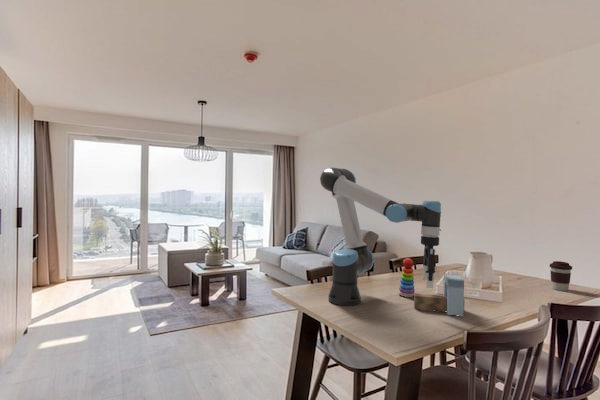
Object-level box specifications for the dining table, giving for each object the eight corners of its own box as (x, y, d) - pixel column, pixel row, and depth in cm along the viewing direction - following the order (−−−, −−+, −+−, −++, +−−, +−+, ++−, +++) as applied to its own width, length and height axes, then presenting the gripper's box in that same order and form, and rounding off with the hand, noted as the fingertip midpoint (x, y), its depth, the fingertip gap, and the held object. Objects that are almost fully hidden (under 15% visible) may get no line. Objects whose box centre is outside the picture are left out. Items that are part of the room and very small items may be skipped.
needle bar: (414, 309, 150) (415, 295, 150) (414, 306, 154) (414, 293, 154) (464, 314, 146) (464, 300, 146) (462, 311, 149) (462, 297, 149)
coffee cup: (576, 292, 183) (577, 264, 183) (557, 291, 183) (558, 263, 183) (562, 287, 193) (563, 260, 193) (544, 286, 193) (545, 260, 193)
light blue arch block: (447, 315, 143) (448, 279, 143) (442, 306, 155) (443, 273, 155) (463, 316, 142) (464, 280, 142) (457, 307, 154) (458, 274, 153)
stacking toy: (396, 296, 170) (397, 258, 169) (400, 292, 177) (401, 256, 176) (413, 298, 166) (414, 260, 166) (416, 294, 173) (417, 257, 173)
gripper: (444, 240, 137) (441, 292, 138) (435, 233, 162) (432, 277, 162) (424, 239, 139) (421, 290, 140) (418, 232, 163) (416, 276, 164)
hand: (427, 283), depth 151 cm, fingers open, 13 cm apart
